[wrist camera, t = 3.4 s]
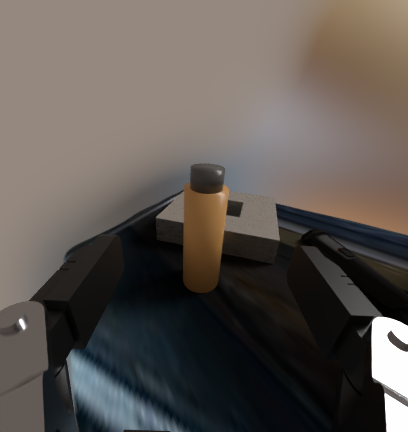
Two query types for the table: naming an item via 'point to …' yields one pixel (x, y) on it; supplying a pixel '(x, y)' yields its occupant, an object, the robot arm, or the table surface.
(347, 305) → the robot arm
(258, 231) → the grey square-holed plate
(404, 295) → the electric trimmer
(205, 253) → the plug
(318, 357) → the table surface
